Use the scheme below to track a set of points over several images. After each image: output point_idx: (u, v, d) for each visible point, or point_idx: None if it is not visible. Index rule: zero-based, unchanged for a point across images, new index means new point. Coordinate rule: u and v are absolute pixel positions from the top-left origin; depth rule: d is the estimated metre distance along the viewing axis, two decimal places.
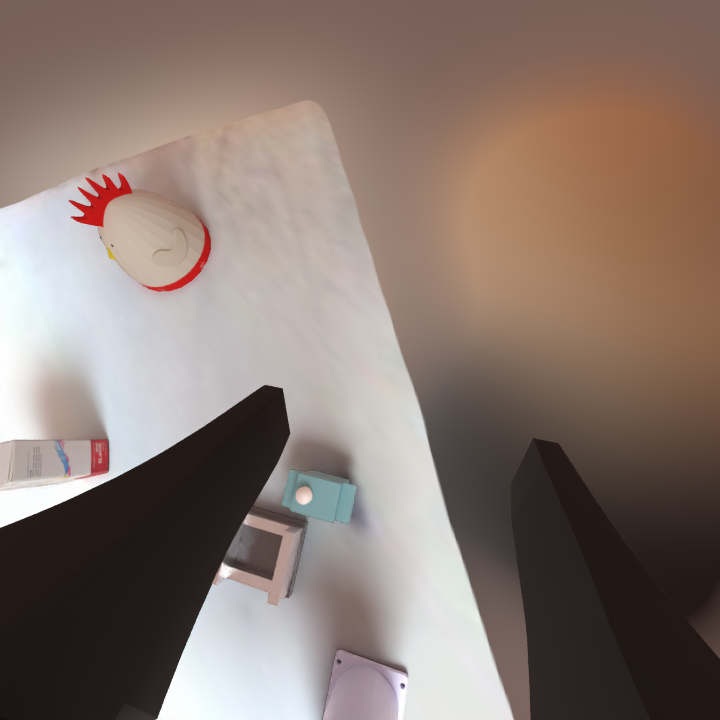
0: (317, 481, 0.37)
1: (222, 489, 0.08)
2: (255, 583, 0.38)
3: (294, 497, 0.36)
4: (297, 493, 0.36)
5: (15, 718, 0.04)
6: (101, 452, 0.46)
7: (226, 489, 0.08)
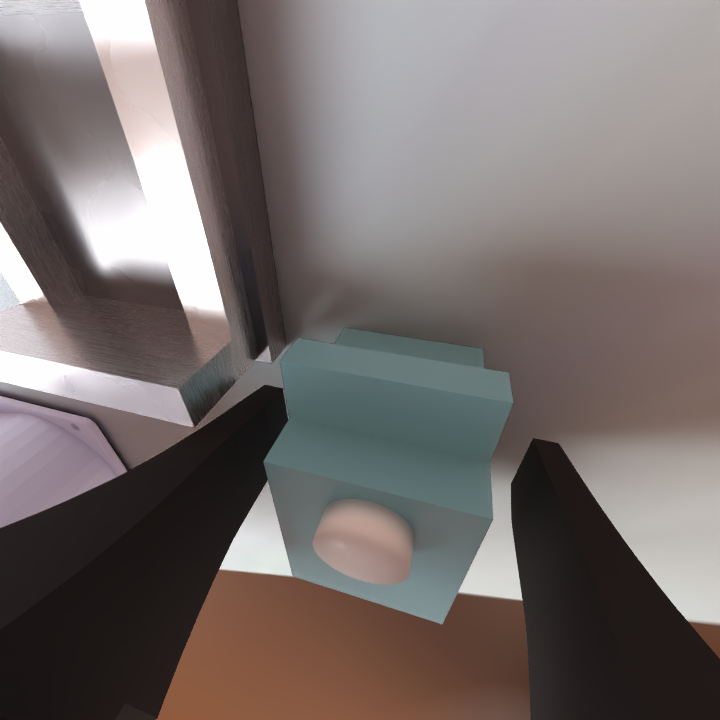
0: (446, 574, 0.07)
1: (222, 489, 0.08)
2: None
3: (339, 485, 0.06)
4: (363, 540, 0.05)
5: (15, 718, 0.04)
6: None
7: (226, 489, 0.08)
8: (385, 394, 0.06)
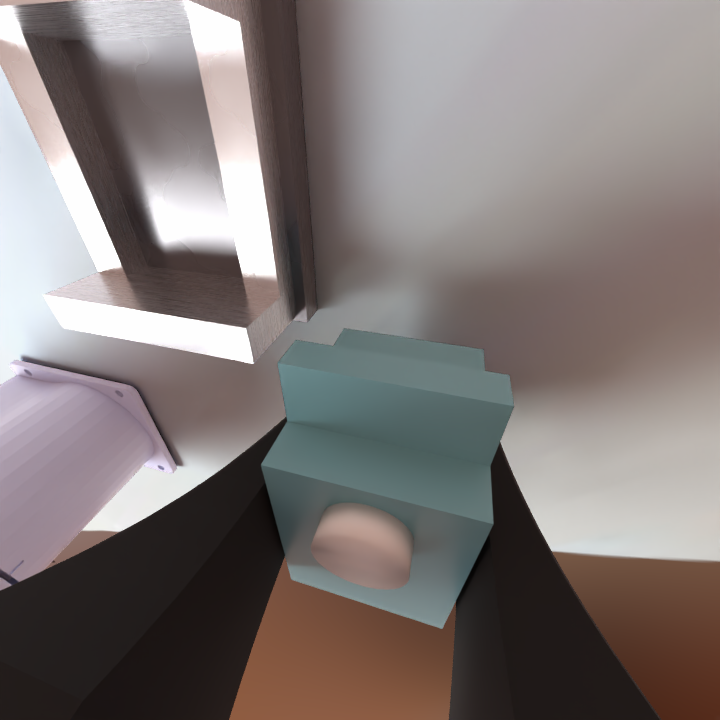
0: (446, 579, 0.07)
1: None
2: (72, 196, 0.10)
3: (337, 489, 0.06)
4: (362, 545, 0.05)
5: None
6: None
7: None
8: (384, 397, 0.06)
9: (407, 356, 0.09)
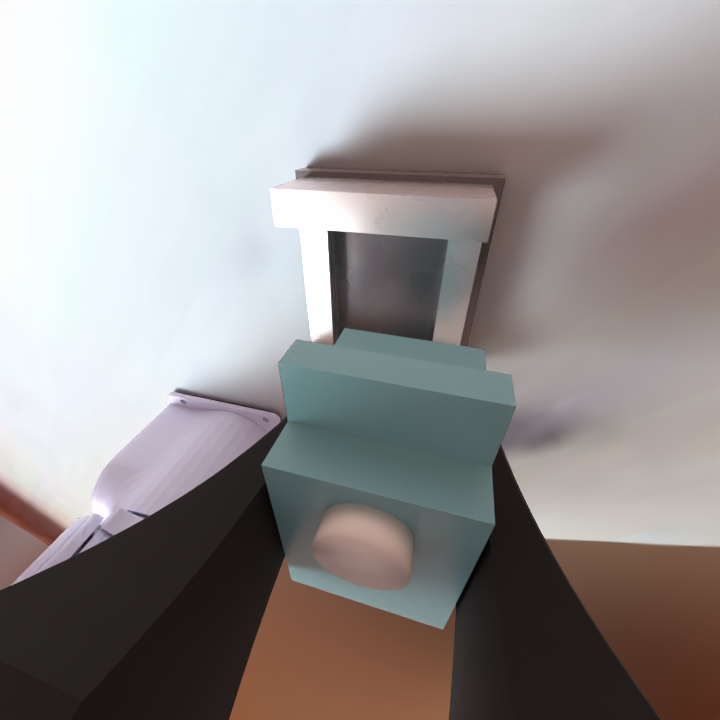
0: (447, 580, 0.07)
1: None
2: (314, 298, 0.15)
3: (338, 490, 0.06)
4: (362, 546, 0.05)
5: None
6: None
7: None
8: (385, 397, 0.06)
9: (408, 356, 0.09)
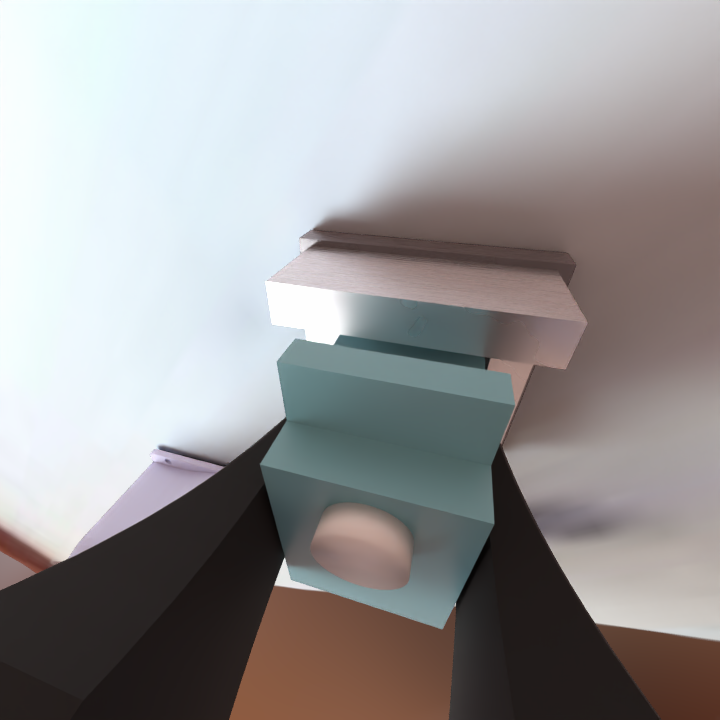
0: (447, 579, 0.07)
1: None
2: None
3: (337, 489, 0.06)
4: (361, 545, 0.05)
5: None
6: None
7: None
8: (384, 396, 0.06)
9: (407, 355, 0.09)
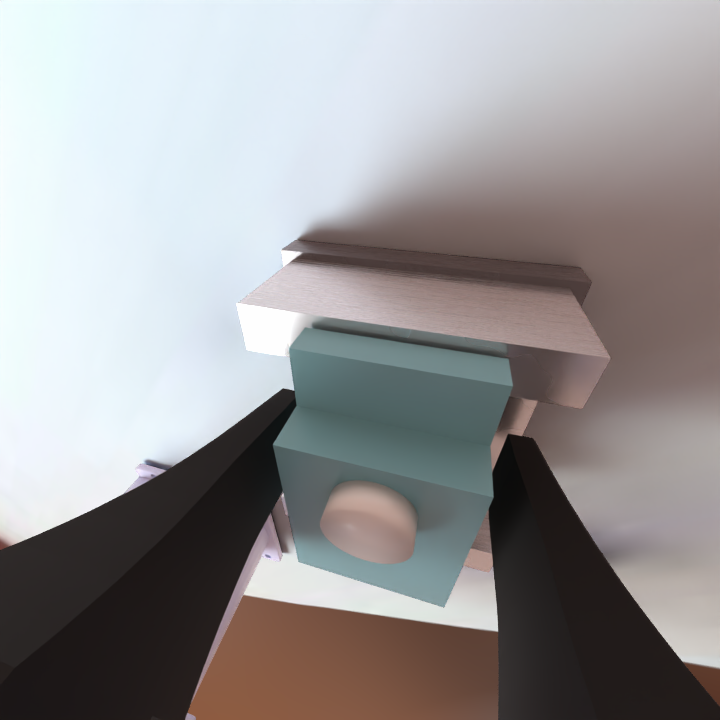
0: (448, 555, 0.07)
1: (245, 495, 0.08)
2: None
3: (345, 467, 0.06)
4: (369, 519, 0.06)
5: None
6: None
7: (248, 495, 0.08)
8: (390, 379, 0.06)
9: None
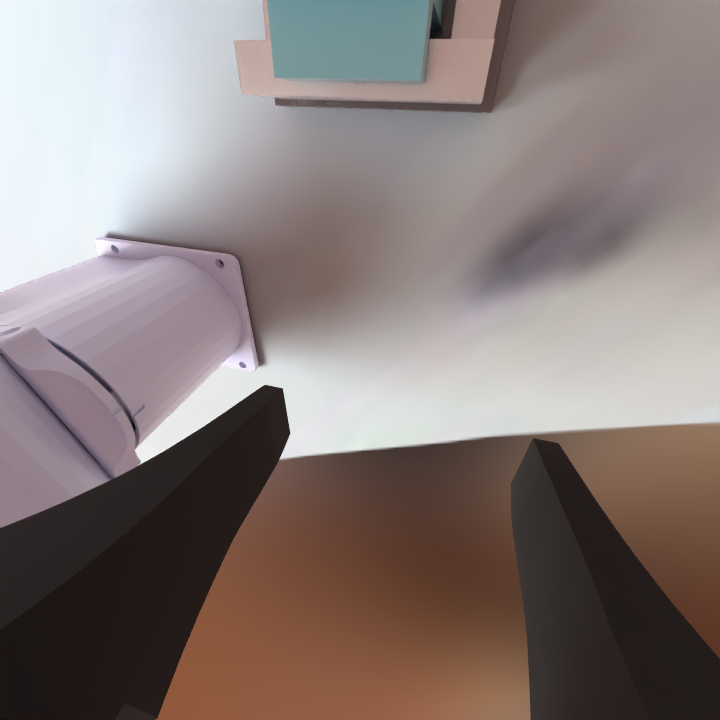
0: None
1: (222, 489, 0.08)
2: None
3: None
4: None
5: (15, 718, 0.04)
6: None
7: (226, 489, 0.08)
8: None
9: None
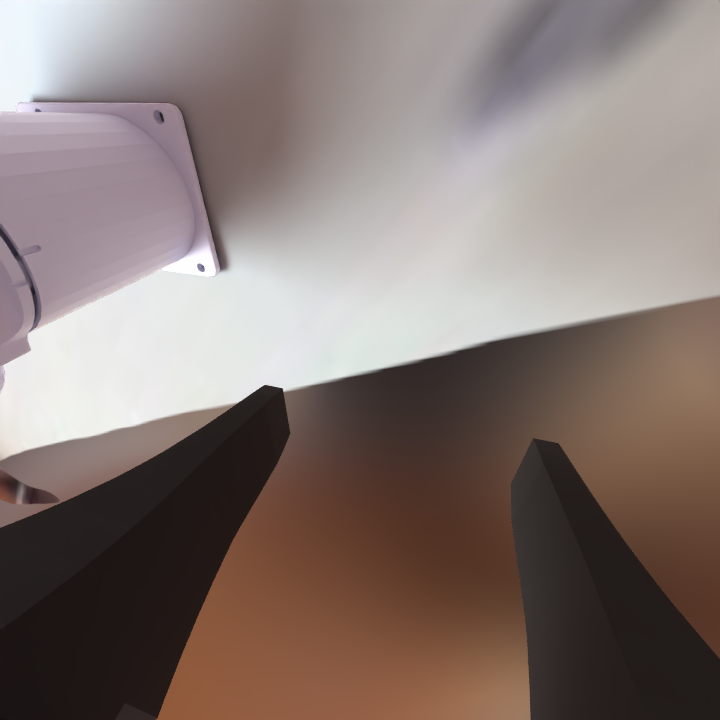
0: None
1: (221, 489, 0.08)
2: None
3: None
4: None
5: (15, 718, 0.04)
6: None
7: (226, 489, 0.08)
8: None
9: None
